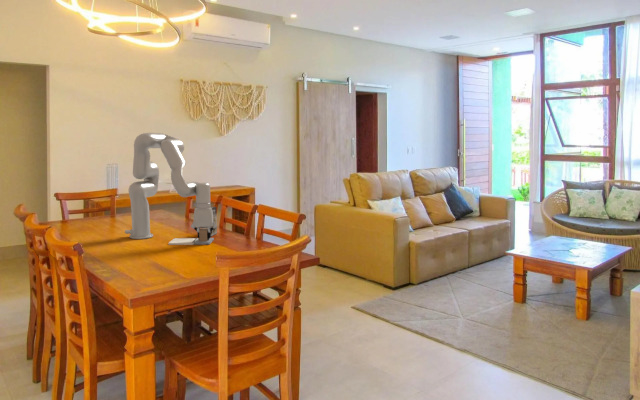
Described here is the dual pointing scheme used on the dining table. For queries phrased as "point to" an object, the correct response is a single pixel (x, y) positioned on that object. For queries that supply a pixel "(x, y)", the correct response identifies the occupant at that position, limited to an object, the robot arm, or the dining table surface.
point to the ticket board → (183, 241)
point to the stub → (203, 237)
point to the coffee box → (214, 221)
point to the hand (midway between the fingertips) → (204, 239)
